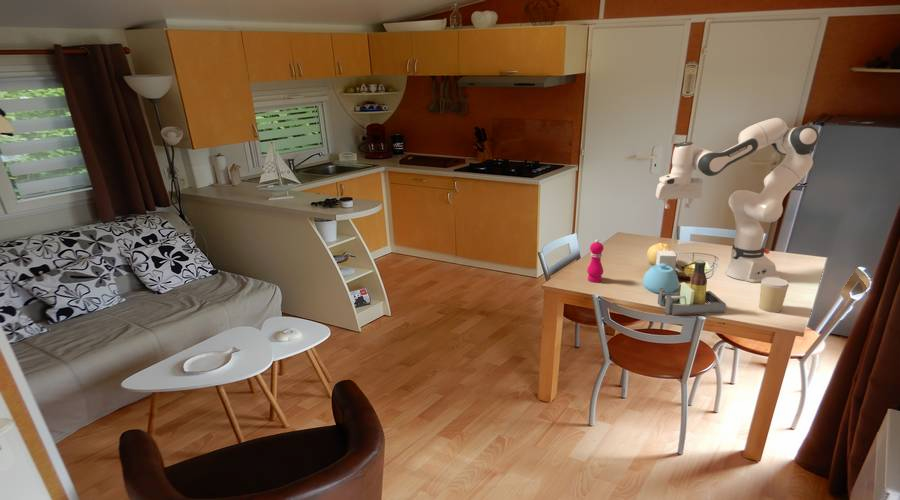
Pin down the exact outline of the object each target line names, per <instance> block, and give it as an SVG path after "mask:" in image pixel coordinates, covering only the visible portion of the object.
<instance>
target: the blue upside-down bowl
mask: <svg viewBox="0 0 900 500" xmlns="http://www.w3.org/2000/svg"><path fill="white" fill-rule="evenodd" d="M642 285H643V286H644V288H645V289H646V290H647V289H648V290H647V291H649V292H651V291H652V293H654V292H655V293H654V294H659V288H663V289H664V290H665V293H675V292H676V291H677V290H678V289H679V287H680V281H679V278H678V274H677V273H676V270H675V271H674V270H673V268H672V267H670V266H667V265H666V264H664V263H660V264H659V265H652V266H651V267H650V268H648V270H647V271H646V272H645V274H644V276H643V279H642Z"/></svg>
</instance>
